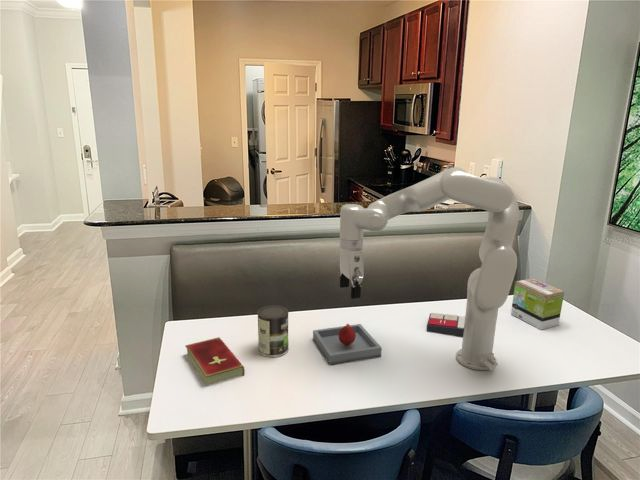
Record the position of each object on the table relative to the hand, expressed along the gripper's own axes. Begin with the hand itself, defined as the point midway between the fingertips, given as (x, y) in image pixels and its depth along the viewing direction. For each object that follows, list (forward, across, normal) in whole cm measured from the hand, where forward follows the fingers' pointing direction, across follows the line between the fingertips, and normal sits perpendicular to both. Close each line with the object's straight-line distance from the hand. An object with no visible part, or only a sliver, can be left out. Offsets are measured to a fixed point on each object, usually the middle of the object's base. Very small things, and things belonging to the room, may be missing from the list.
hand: (349, 292), depth 154 cm
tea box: (+21, -2, -78) cm, 81 cm away
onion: (+20, 0, +1) cm, 20 cm away
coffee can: (+20, +6, +25) cm, 33 cm away
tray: (+20, 0, +1) cm, 20 cm away
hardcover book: (+21, +2, +45) cm, 50 cm away
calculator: (+21, +2, -42) cm, 47 cm away
